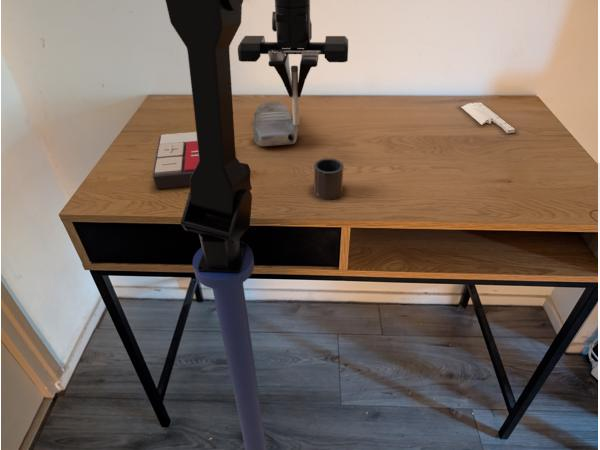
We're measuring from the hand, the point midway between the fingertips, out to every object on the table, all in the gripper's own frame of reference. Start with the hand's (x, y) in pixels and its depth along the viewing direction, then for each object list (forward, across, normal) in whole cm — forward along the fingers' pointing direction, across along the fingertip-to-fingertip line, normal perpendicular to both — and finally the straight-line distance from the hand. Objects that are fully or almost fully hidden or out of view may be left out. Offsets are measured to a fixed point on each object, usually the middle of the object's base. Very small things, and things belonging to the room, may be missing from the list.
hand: (295, 96), depth 80 cm
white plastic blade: (+13, -42, -20) cm, 49 cm away
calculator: (+13, +21, +5) cm, 25 cm away
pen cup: (+13, -7, +12) cm, 19 cm away
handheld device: (+13, +7, -12) cm, 19 cm away
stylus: (+6, 0, 0) cm, 6 cm away
